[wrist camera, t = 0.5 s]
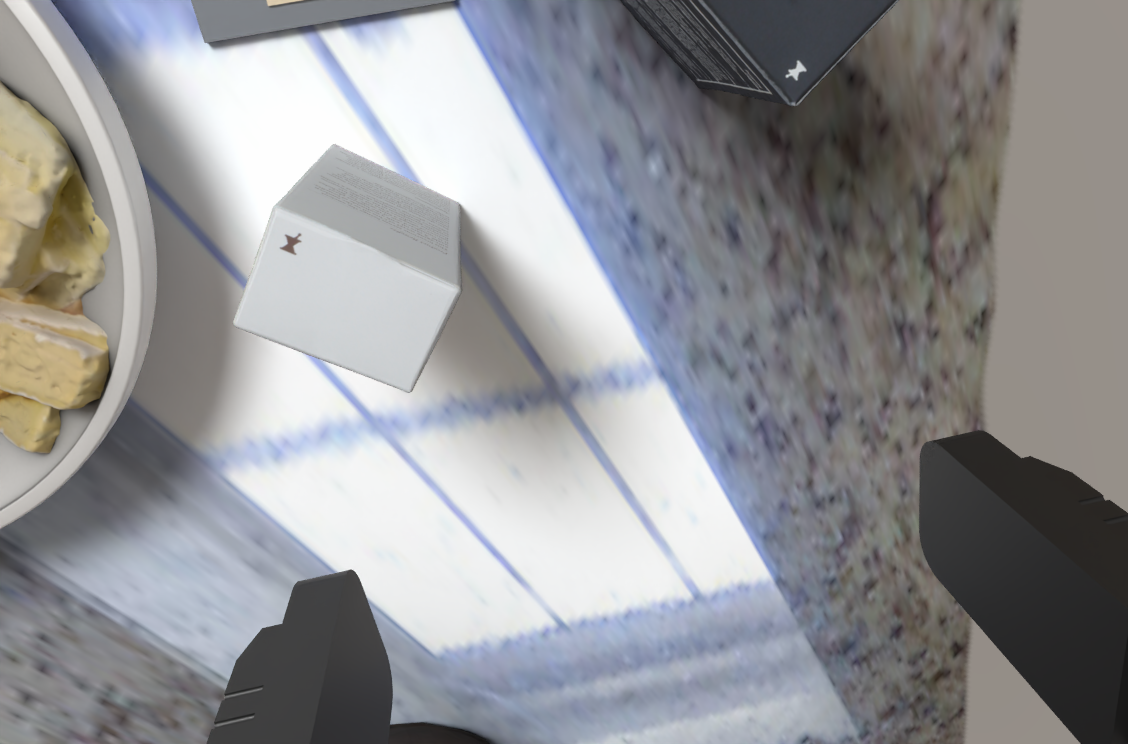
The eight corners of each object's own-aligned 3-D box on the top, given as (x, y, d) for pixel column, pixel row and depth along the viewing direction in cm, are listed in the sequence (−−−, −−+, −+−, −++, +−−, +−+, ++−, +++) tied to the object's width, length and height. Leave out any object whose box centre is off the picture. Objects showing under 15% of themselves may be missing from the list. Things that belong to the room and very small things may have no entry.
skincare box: (298, 230, 35) (222, 326, 24) (333, 140, 33) (270, 198, 22) (426, 286, 36) (411, 399, 26) (465, 203, 35) (466, 285, 24)
